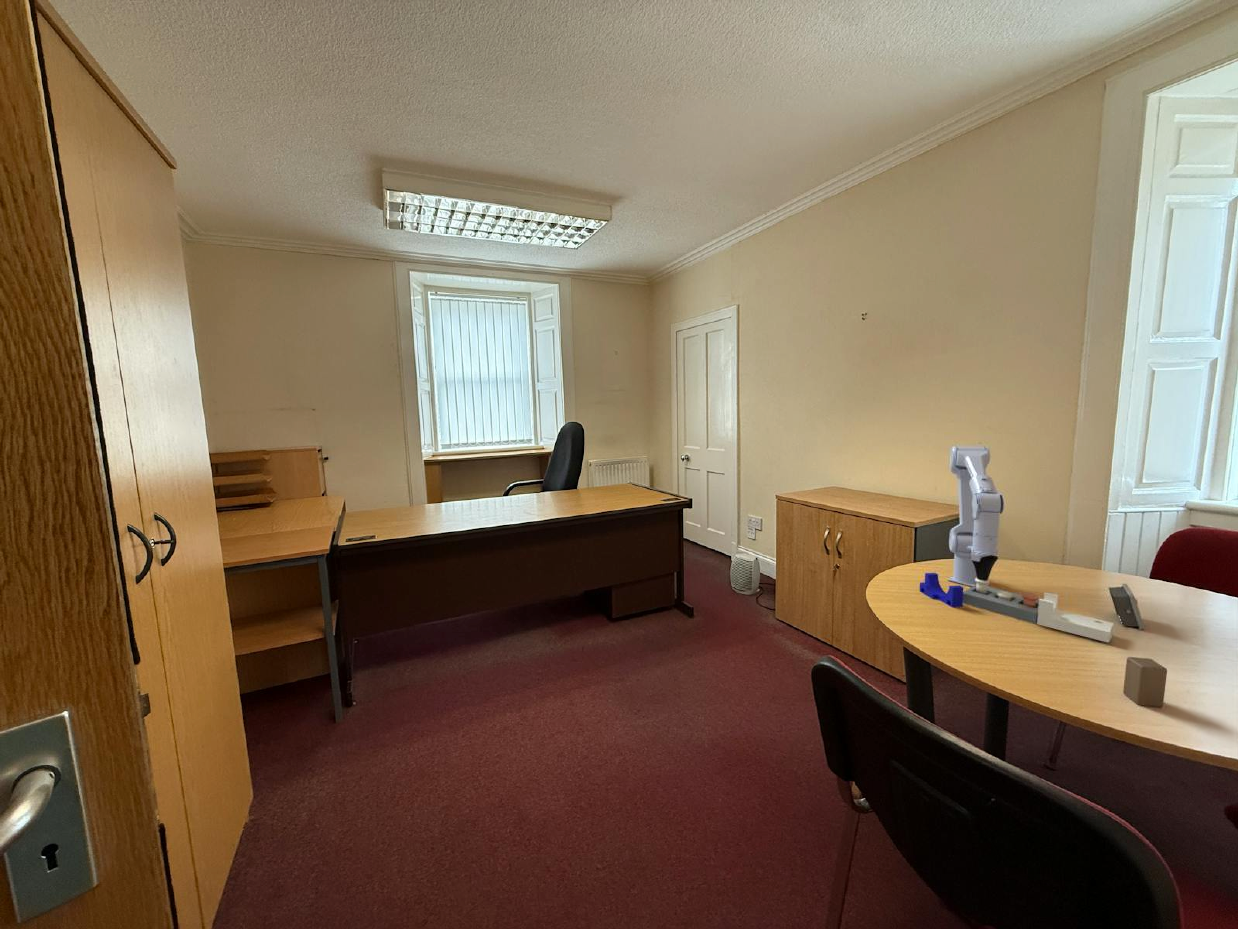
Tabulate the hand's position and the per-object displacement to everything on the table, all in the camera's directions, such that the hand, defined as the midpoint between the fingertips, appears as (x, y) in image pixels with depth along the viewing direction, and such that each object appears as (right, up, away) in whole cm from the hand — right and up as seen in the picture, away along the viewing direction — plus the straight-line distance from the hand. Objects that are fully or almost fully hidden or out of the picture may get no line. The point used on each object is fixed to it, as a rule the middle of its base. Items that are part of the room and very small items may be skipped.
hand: (982, 579), depth 138 cm
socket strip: (+3, -7, -4) cm, 9 cm away
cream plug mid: (+3, -7, -4) cm, 8 cm away
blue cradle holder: (-10, -7, +4) cm, 13 cm away
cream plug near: (0, -4, +1) cm, 4 cm away
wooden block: (-4, -13, -46) cm, 47 cm away
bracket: (+9, -9, -18) cm, 22 cm away
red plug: (+6, -6, -8) cm, 12 cm away
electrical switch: (+27, -8, -14) cm, 31 cm away
